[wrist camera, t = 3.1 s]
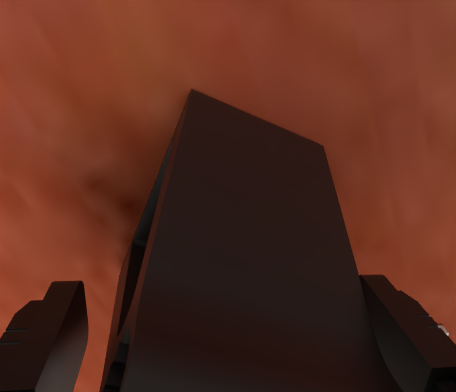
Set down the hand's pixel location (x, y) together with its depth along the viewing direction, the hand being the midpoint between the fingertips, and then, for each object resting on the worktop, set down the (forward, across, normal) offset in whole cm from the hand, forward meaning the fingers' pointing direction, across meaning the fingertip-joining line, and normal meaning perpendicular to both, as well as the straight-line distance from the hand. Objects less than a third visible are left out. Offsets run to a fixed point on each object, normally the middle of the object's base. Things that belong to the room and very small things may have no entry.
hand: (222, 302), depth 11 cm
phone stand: (+7, 0, 0) cm, 7 cm away
